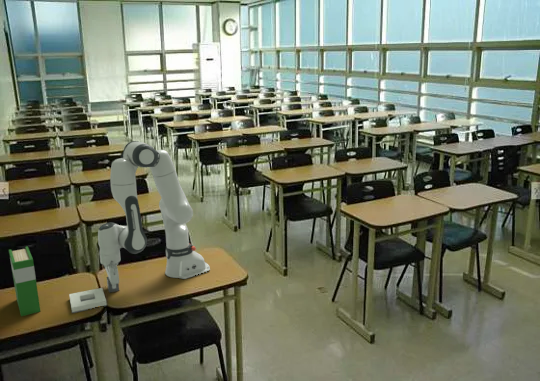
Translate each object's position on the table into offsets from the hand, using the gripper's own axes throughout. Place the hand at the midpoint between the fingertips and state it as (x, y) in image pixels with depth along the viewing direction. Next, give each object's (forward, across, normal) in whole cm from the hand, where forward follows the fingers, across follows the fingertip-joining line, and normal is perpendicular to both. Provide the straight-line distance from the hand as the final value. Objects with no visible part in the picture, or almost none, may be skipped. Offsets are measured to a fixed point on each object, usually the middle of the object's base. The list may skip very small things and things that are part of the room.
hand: (113, 285), depth 219 cm
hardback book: (+2, +1, +36) cm, 36 cm away
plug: (+2, 0, 0) cm, 2 cm away
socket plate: (+2, -8, +12) cm, 15 cm away
